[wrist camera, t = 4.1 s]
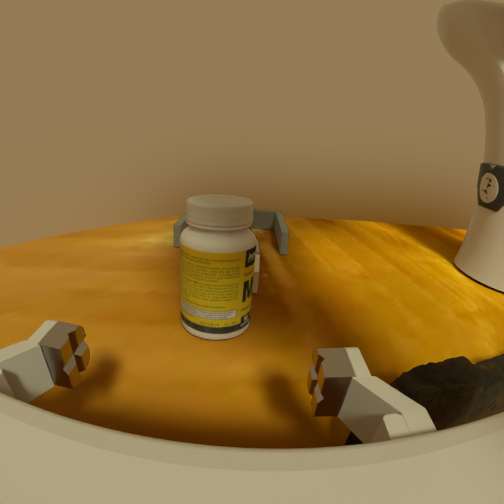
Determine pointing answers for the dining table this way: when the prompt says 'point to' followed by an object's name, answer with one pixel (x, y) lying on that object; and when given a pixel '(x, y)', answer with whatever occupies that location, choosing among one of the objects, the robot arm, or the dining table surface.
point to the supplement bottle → (217, 266)
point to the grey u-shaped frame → (260, 221)
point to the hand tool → (453, 391)
